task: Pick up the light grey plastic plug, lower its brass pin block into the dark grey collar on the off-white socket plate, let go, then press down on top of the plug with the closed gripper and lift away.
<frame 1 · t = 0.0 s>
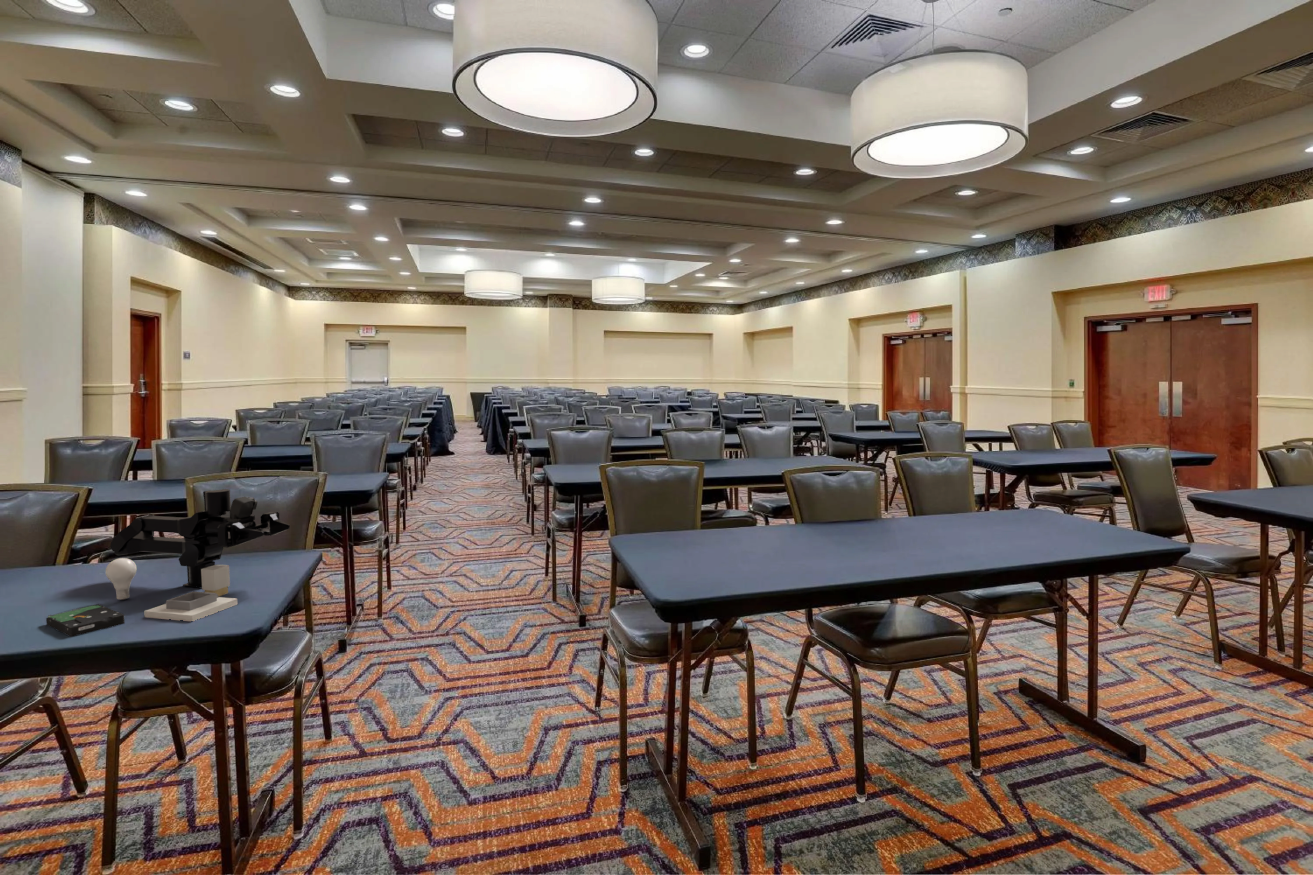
hand: (276, 530, 185), 17 cm above the table, tool horizontal, fingers open, 9 cm apart
disk drive: (85, 626, 160), on the table
lightbulb: (123, 600, 178), on the table
socket plate: (192, 610, 169), on the table
plug: (216, 594, 182), on the table
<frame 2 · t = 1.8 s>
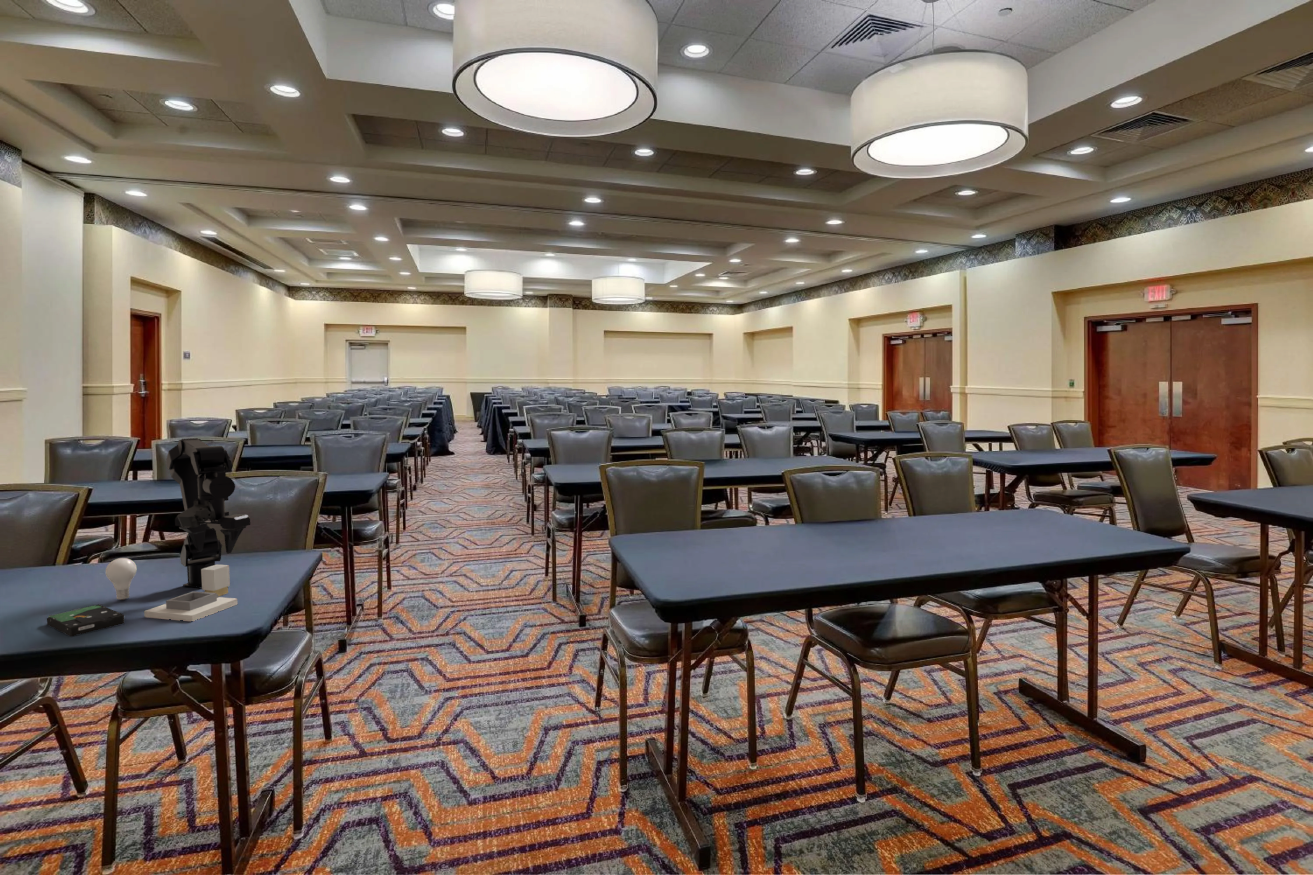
hand: (214, 552, 181), 11 cm above the table, tool pointing down, fingers open, 9 cm apart
nothing on the table moved.
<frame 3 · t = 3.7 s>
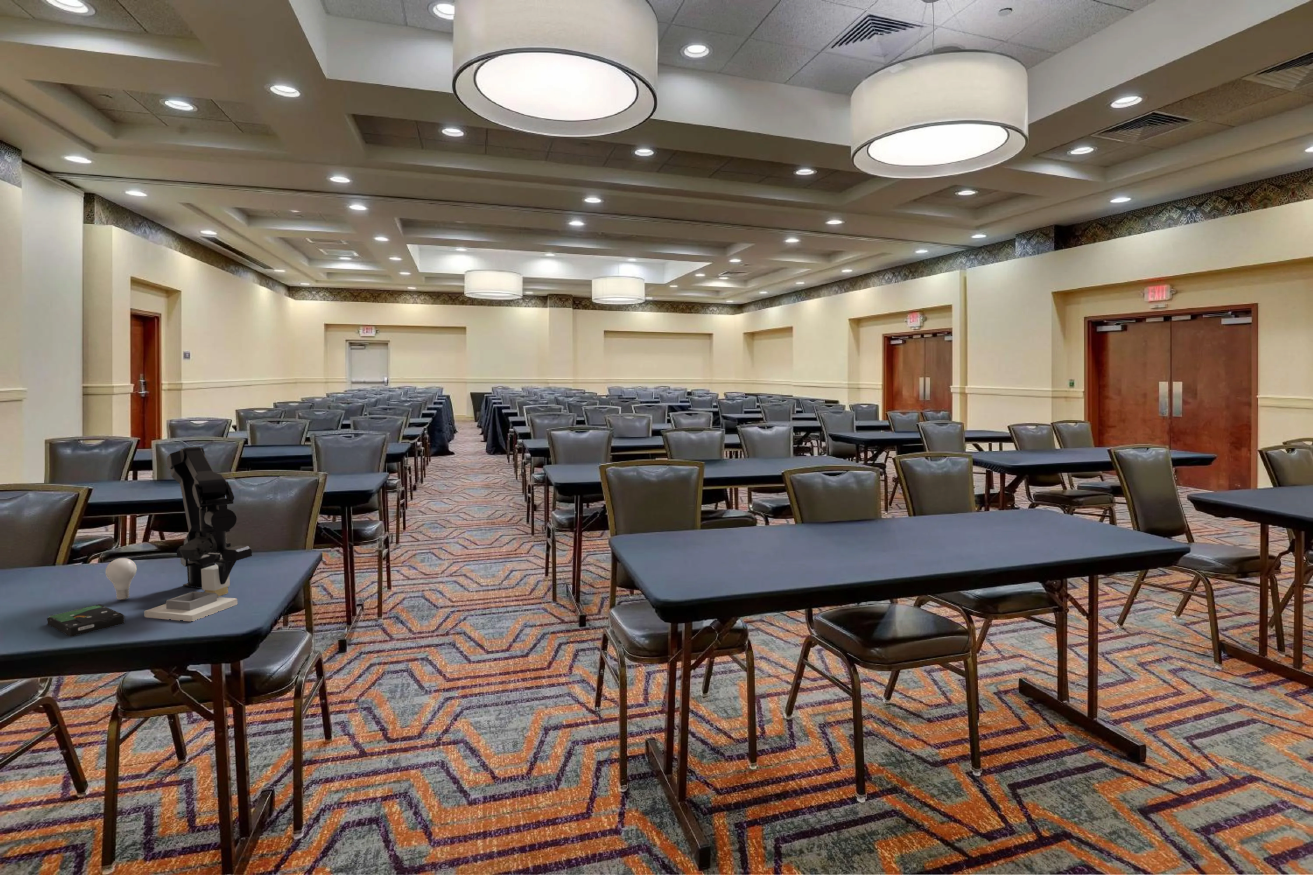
hand: (216, 583, 182), 3 cm above the table, tool pointing down, fingers closed on plug, 4 cm apart
plug: (216, 594, 182), on the table, touching gripper
everything else where it was.
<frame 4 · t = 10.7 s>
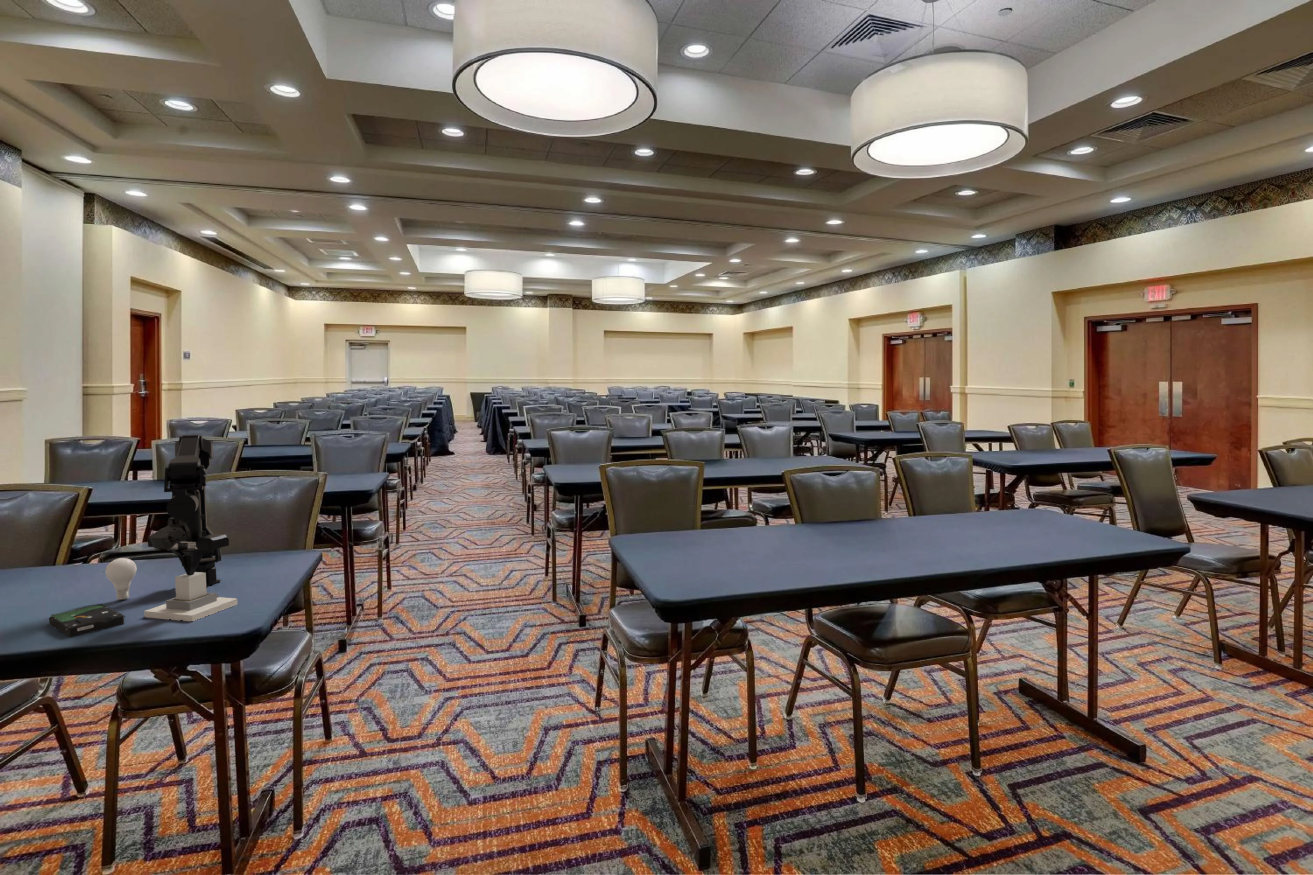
hand: (190, 574, 169), 9 cm above the table, tool pointing down, fingers closed, pressing on plug
plug: (192, 604, 169), point 1 cm above the table, touching gripper, socket plate
everything else where it was.
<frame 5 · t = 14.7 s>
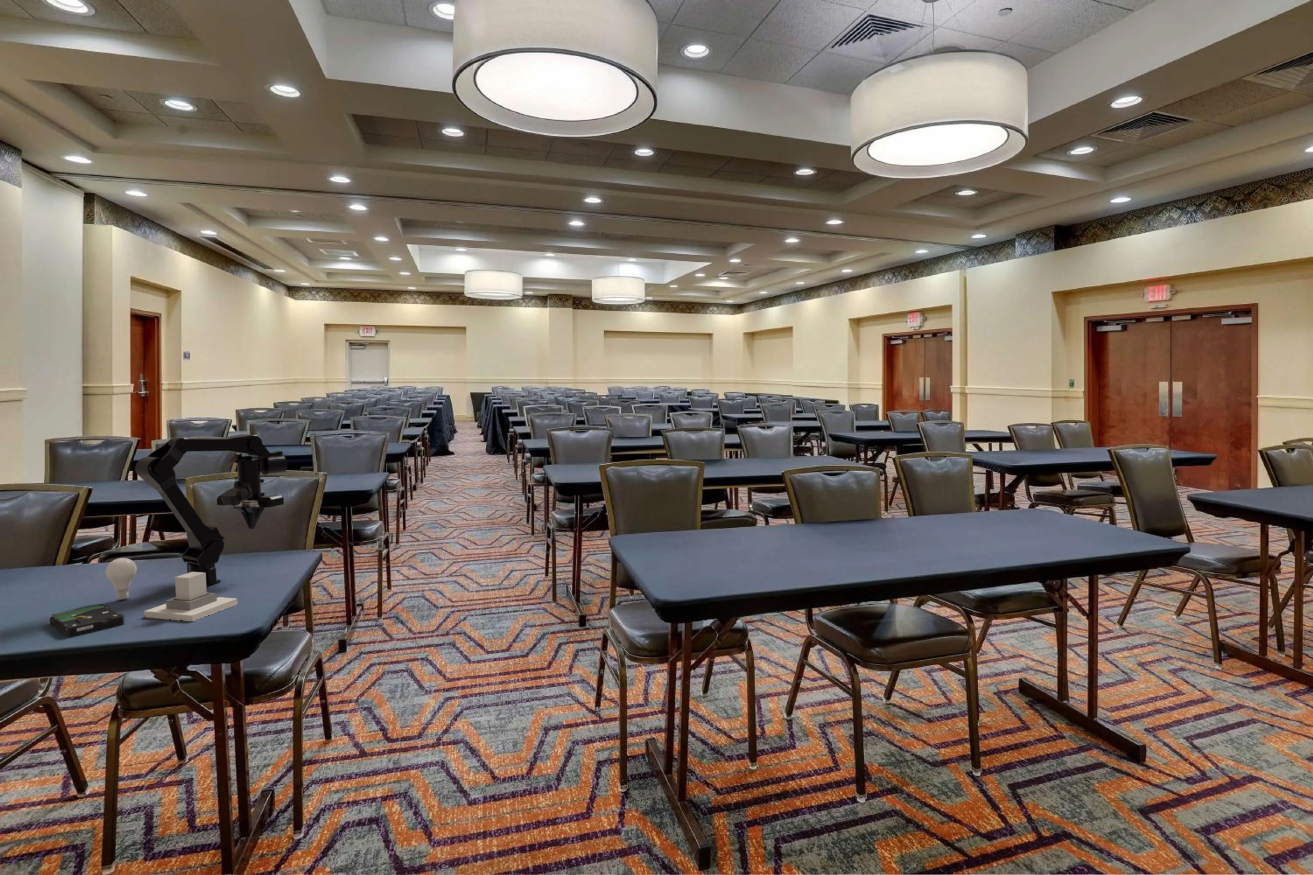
hand: (251, 528, 203), 13 cm above the table, tool pointing down, fingers closed
plug: (192, 604, 169), point 1 cm above the table, touching socket plate
everything else where it was.
at the end: plug 0.0 cm off-centre on the socket plate, point 1.5 cm above the socket plate's base; plug tilted 0°; the gripper is holding nothing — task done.
